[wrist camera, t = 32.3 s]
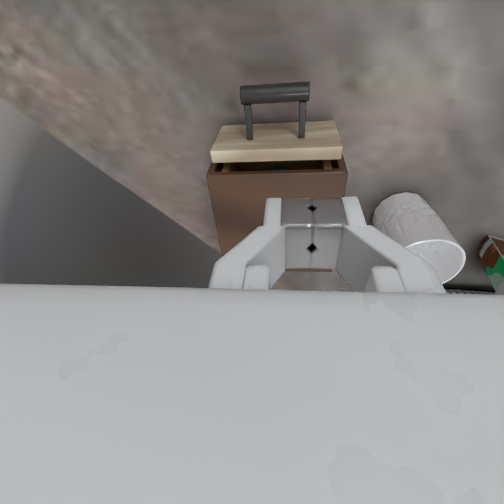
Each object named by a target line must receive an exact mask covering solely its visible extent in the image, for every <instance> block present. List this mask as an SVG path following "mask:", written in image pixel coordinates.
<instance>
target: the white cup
mask: <svg viewBox="0 0 504 504" xmlns="http://www.w3.org/2000/svg"><path fill="white" fill-rule="evenodd" d="M372 220H373V224H374V227H375V228H376V229H378V230H379V231H381V232H382V233H384V234H385V235H387V236H388V237H390V238H391V239H393V240H394V241H396V242H397V243H399V244H400V245H402V246H403V247H405V248H406V249H408V250H410V251H411V252H413V253H414V254H416V255H417V256H419V257H420V258H422V259H423V260H425V261H426V262H428V263H429V264H431V265H432V266H433V267H434V269H435V271H436V273H437V275H438V277H439V279H440V281H441V283H442V284H444V283H446V282H448V281H449V280H451V279H452V278H454V277H455V276H456V275H457V274H458V273H459V272H460V271H461V270H462V268H463V266H464V264H465V261H466V255H465V252H464V250H463V249H462V247H461V246H460V245H459V243H458V242H457V241H456V239H455V238H454V236H453V235H452V234H451V232H450V231H449V230H448V228H447V227H446V225H445V224H444V223H443V221H442V220H441V219H440V218H439V217H438V215H437V214H436V213H435V211H434V210H433V209H432V208H431V207H430V206H429V204H428V203H427V202H426V200H424V199H423V198H422V197H421V196H419V195H418V194H414V193H408V192H404V193H399V194H394V195H392V196H390V197H388V198H387V199H385V200H383V201H382V202H381V203H380V204H379V205H378V206H377V208H376V209H375V210H374V214H373V218H372Z"/></svg>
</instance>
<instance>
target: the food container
mask: <svg viewBox="0 0 504 504" xmlns="http://www.w3.org/2000/svg"><path fill="white" fill-rule="evenodd" d="M477 257H478V259H479V260H480V262H481V264H482V266H483V268H484V270H485V272H486V274H487V276H488V278H489V280H490V282H491V284H492V286H493V288H494V290H495V291H496V293H495V295H504V239H502V238H498V237H494V236H490V235H487V236H486V237H485V238H484V239H483V240H482V242H481V244H480V245H479V247H478V252H477Z"/></svg>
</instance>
